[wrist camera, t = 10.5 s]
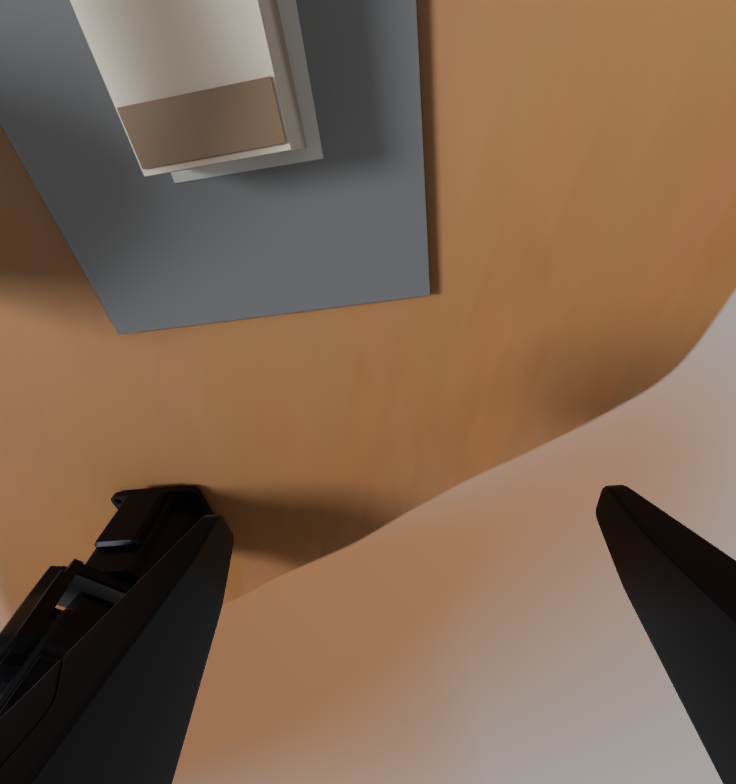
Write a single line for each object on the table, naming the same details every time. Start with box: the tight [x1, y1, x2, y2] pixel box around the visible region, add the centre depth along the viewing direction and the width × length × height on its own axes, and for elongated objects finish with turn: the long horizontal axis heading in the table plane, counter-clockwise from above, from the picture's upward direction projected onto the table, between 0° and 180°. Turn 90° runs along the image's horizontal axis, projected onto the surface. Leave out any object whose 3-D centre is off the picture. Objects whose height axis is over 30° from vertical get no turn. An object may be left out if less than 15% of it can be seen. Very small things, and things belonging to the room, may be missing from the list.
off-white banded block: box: [70, 0, 307, 177], centre depth 11 cm, size 5×8×3 cm, turn 9°
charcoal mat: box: [0, 0, 430, 334], centre depth 14 cm, size 15×16×1 cm
